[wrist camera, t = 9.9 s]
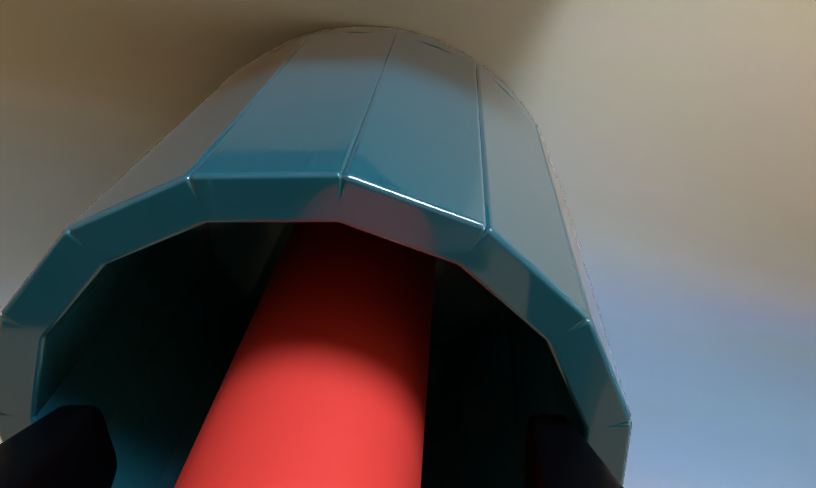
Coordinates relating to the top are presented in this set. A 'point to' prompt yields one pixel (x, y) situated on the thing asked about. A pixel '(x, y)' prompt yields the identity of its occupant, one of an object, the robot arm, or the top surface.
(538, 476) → the robot arm
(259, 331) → the red cylinder rod
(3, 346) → the tumbler
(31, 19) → the top surface
